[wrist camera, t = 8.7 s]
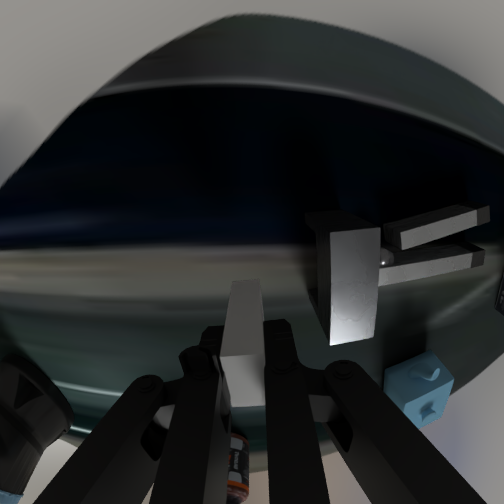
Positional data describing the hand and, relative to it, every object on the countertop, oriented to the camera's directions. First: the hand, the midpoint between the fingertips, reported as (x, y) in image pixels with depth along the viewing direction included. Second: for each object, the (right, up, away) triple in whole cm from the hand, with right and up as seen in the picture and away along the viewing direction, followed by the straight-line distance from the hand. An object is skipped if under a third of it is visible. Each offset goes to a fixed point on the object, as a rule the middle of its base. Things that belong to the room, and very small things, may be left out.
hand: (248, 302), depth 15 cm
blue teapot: (+18, -11, +11) cm, 24 cm away
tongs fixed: (+15, +3, +6) cm, 16 cm away
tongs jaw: (+16, +6, +5) cm, 18 cm away
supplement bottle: (-3, -22, +14) cm, 26 cm away
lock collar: (+6, +3, +6) cm, 9 cm away
